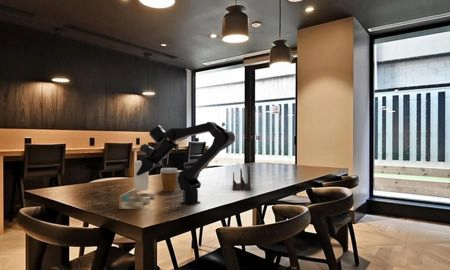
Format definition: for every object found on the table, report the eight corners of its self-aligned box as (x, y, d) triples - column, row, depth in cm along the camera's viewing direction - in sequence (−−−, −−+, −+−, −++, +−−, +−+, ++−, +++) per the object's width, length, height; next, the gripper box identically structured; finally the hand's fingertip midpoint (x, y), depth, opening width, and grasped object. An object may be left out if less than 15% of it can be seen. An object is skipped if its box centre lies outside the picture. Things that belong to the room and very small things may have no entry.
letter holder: (248, 185, 181) (248, 162, 182) (250, 190, 162) (250, 165, 162) (232, 185, 182) (232, 162, 182) (232, 190, 162) (232, 165, 162)
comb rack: (155, 198, 139) (155, 187, 139) (142, 208, 118) (142, 196, 118) (135, 198, 139) (135, 187, 139) (119, 208, 118) (119, 196, 118)
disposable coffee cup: (158, 191, 157) (158, 169, 157) (162, 188, 166) (162, 167, 166) (175, 192, 156) (175, 169, 157) (179, 189, 166) (179, 167, 166)
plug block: (148, 188, 137) (148, 160, 137) (145, 190, 132) (145, 161, 132) (137, 188, 137) (138, 160, 137) (134, 190, 132) (134, 161, 132)
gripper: (155, 138, 144) (132, 160, 144) (145, 137, 125) (119, 163, 125) (171, 154, 144) (148, 176, 144) (163, 156, 125) (137, 182, 125)
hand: (138, 174), depth 134 cm, fingers closed on plug block, 5 cm apart
